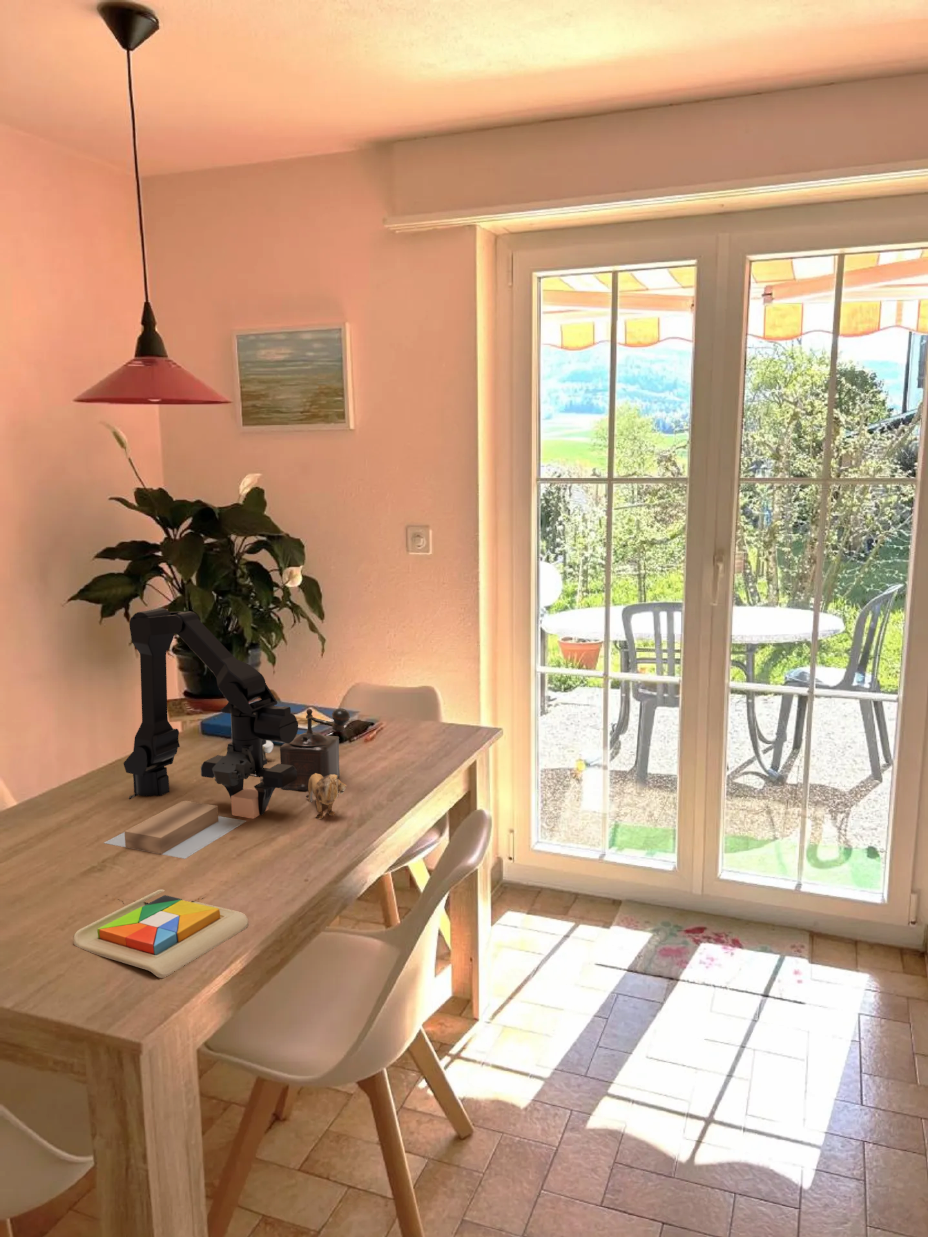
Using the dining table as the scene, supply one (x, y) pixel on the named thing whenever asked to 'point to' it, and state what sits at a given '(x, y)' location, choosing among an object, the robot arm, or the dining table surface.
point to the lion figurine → (325, 791)
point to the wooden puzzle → (160, 933)
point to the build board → (192, 838)
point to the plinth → (171, 827)
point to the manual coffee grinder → (314, 751)
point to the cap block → (245, 803)
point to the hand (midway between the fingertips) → (250, 812)
